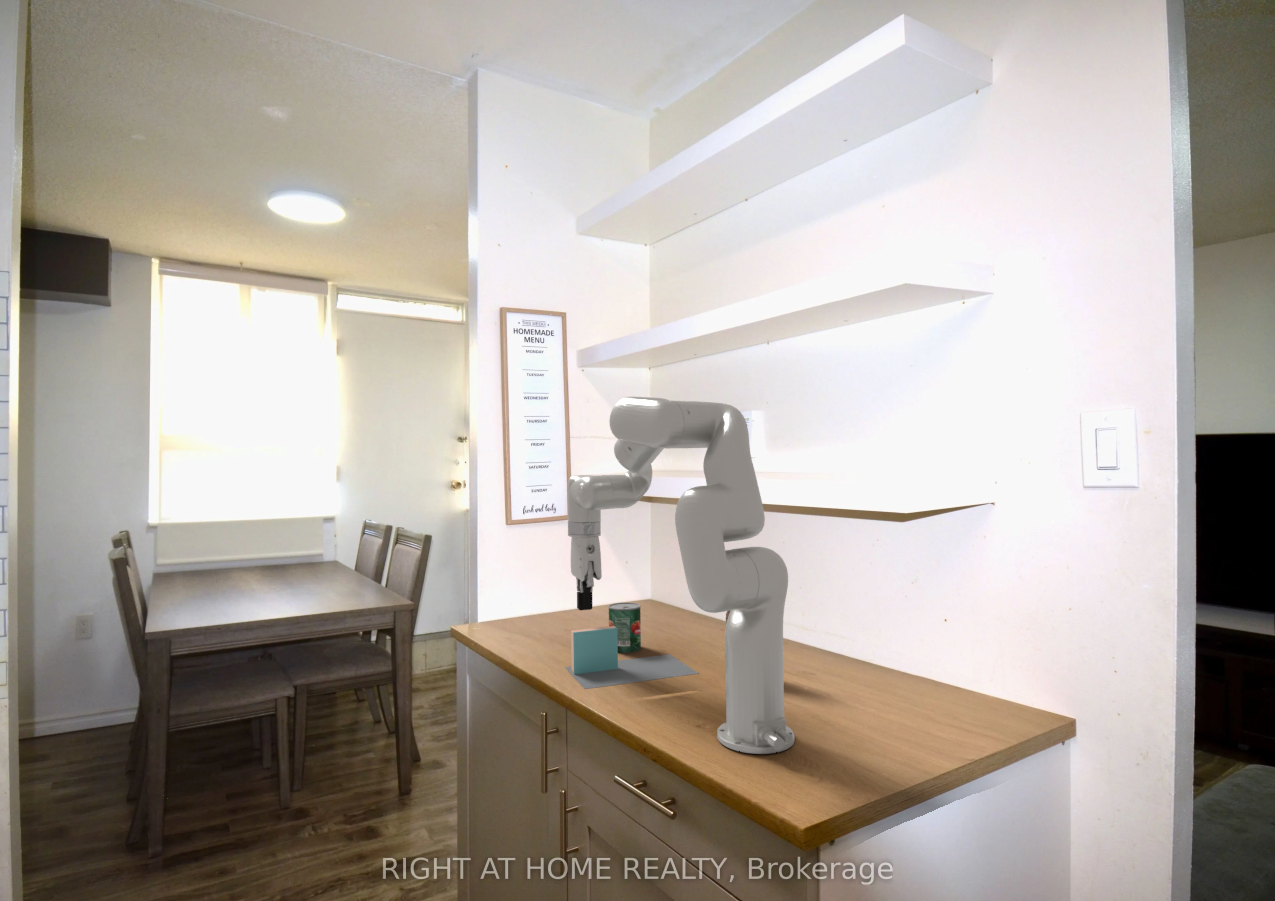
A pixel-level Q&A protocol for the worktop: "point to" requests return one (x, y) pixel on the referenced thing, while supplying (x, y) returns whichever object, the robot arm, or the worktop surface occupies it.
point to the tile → (594, 650)
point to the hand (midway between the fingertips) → (584, 608)
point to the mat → (635, 671)
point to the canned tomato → (626, 626)
